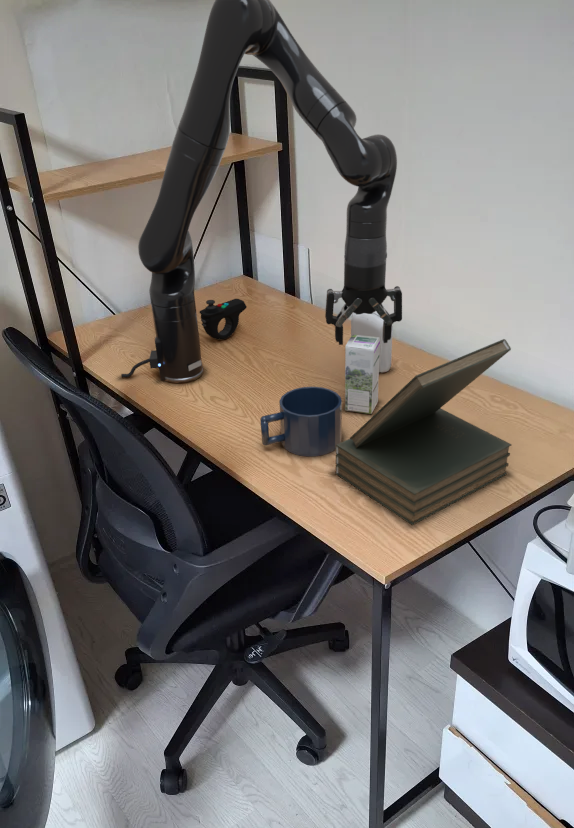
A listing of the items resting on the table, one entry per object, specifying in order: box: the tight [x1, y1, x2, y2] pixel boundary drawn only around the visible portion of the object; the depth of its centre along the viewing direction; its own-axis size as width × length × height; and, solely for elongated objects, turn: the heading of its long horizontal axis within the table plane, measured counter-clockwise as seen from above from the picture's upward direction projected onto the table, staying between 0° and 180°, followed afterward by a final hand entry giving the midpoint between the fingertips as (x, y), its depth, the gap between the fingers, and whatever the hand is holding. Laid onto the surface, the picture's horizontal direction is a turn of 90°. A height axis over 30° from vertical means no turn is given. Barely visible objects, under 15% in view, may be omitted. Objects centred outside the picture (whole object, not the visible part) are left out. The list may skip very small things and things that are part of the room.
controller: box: [199, 298, 247, 341], centre depth 186 cm, size 4×12×10 cm, turn 133°
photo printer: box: [350, 311, 393, 374], centre depth 170 cm, size 10×4×12 cm, turn 39°
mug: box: [259, 386, 343, 457], centre depth 146 cm, size 16×11×8 cm
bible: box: [335, 338, 513, 526], centre depth 131 cm, size 23×20×25 cm
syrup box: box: [344, 335, 380, 415], centre depth 154 cm, size 6×6×14 cm
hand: (362, 342), depth 150 cm, fingers open, 8 cm apart
